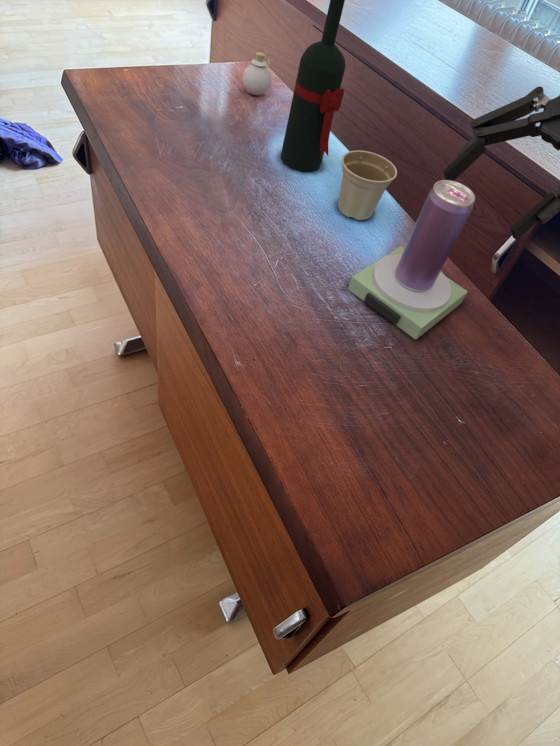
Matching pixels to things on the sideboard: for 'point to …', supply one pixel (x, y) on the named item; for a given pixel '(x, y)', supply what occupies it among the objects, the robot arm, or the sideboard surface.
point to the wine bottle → (315, 98)
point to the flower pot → (363, 182)
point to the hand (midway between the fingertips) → (478, 205)
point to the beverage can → (434, 234)
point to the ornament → (257, 76)
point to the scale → (405, 296)
